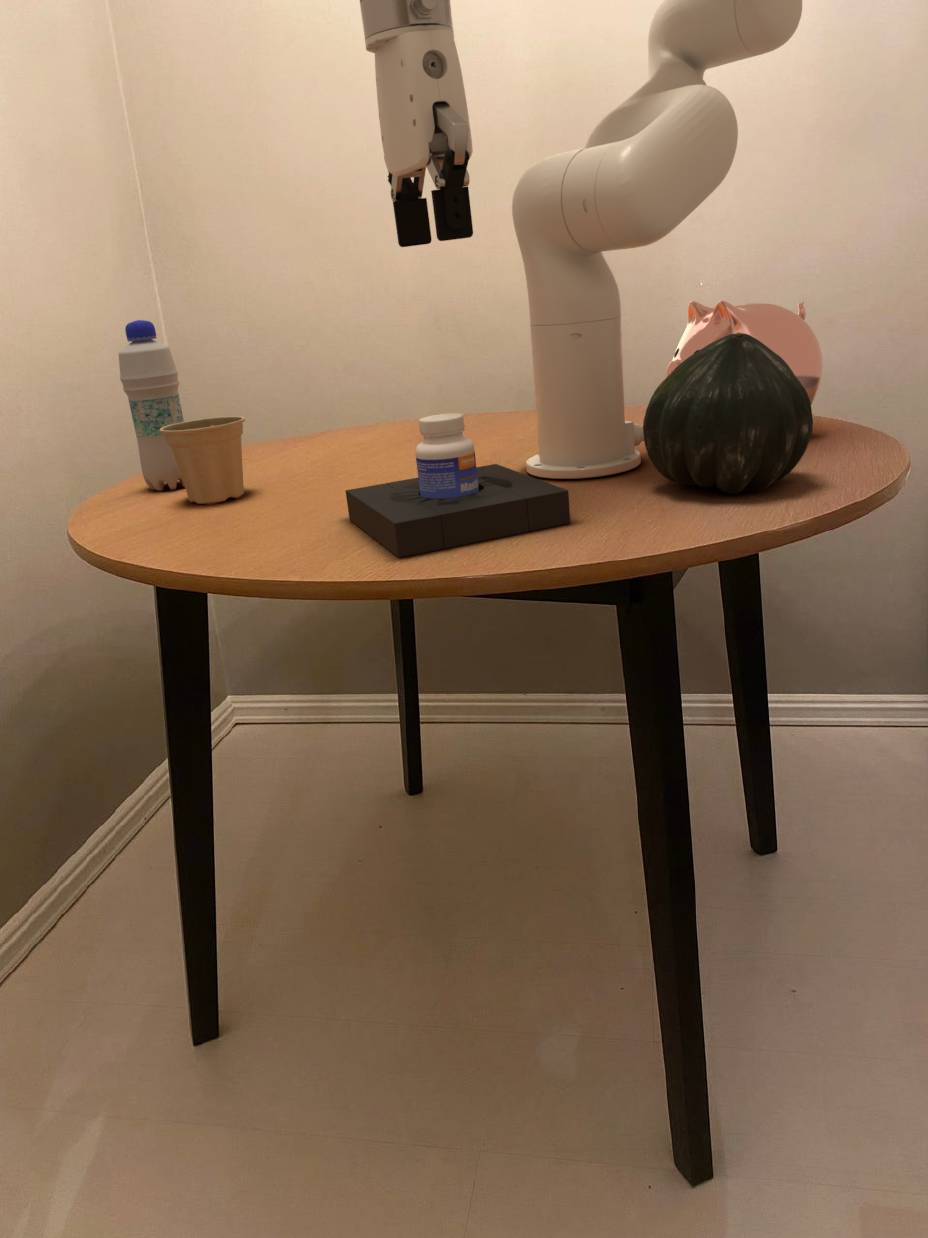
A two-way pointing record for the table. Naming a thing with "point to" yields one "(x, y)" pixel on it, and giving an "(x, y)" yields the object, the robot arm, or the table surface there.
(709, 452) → the squash
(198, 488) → the flower pot
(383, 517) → the pad
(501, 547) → the table surface
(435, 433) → the pill bottle
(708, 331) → the piggy bank
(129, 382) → the bottle
